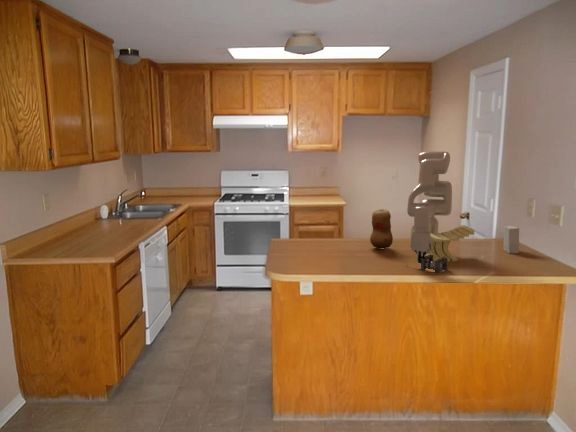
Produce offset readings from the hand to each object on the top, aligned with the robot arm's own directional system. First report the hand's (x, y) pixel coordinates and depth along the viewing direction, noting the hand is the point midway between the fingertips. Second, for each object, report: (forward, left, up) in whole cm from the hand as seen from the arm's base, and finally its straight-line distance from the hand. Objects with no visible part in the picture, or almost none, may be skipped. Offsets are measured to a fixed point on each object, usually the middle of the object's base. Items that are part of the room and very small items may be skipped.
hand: (421, 262), depth 244 cm
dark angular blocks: (+12, 0, -2) cm, 12 cm away
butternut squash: (-38, +18, -3) cm, 43 cm away
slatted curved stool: (0, +22, -3) cm, 23 cm away
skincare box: (+24, +59, -3) cm, 64 cm away
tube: (+7, 0, -2) cm, 7 cm away
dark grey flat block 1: (+4, 0, -2) cm, 4 cm away
